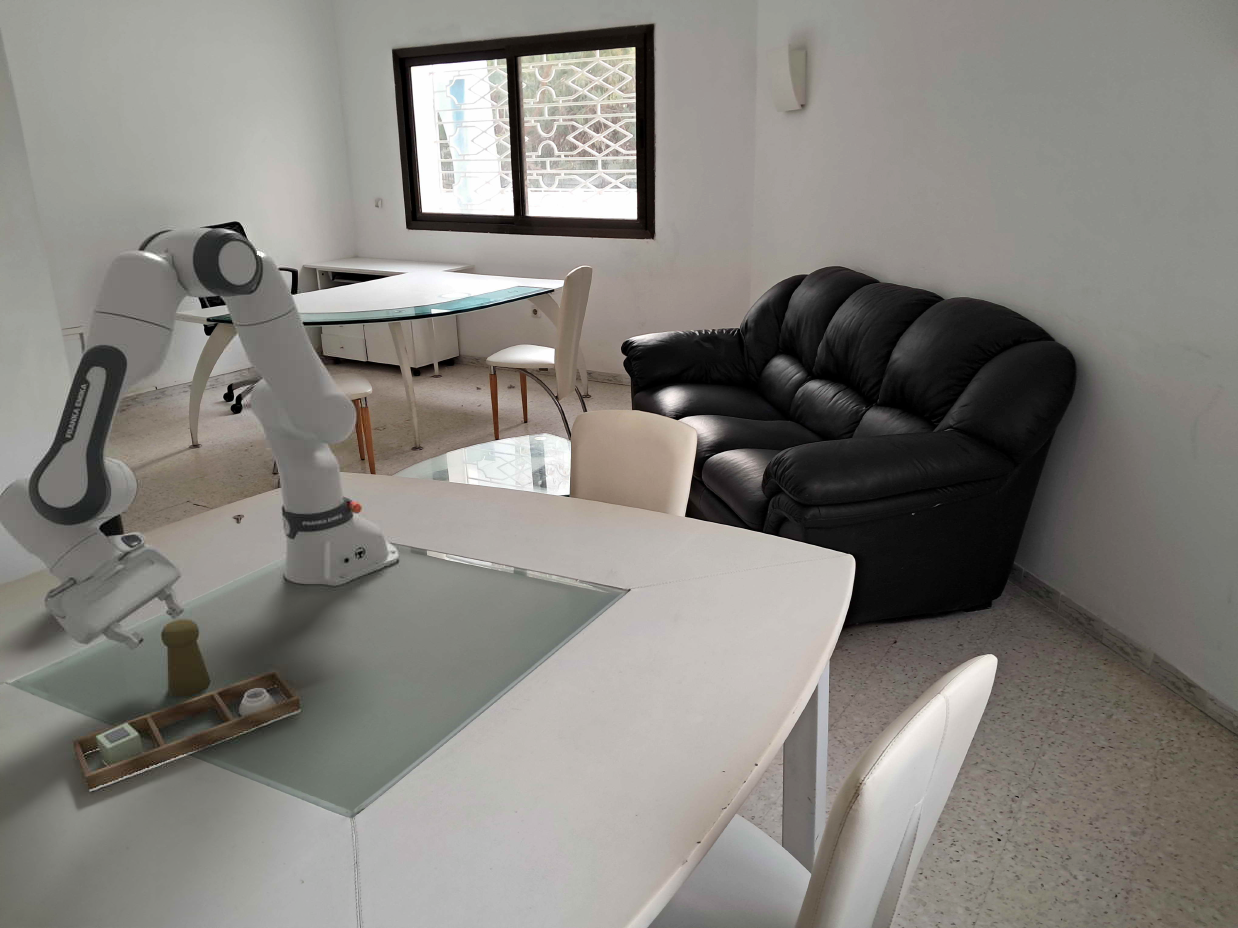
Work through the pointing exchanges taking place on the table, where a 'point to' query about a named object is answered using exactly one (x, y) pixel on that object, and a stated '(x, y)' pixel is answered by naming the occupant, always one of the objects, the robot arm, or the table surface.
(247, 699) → the lidless jar
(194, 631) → the cork
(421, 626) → the table surface
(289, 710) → the organiser
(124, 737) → the cube with grey panel
